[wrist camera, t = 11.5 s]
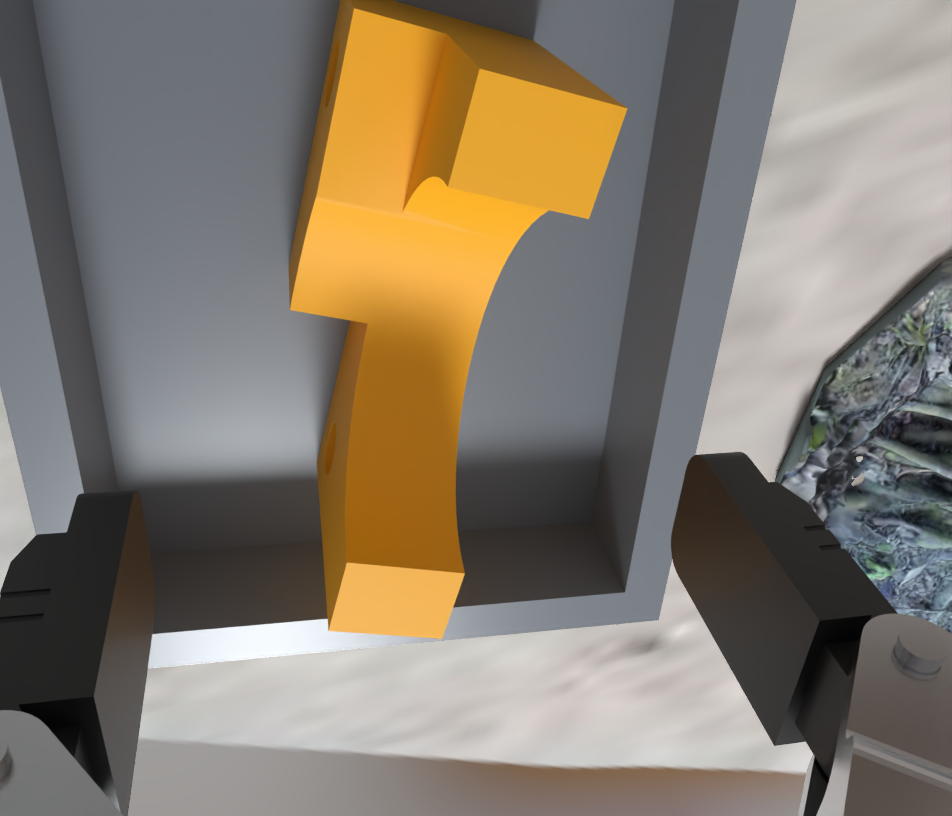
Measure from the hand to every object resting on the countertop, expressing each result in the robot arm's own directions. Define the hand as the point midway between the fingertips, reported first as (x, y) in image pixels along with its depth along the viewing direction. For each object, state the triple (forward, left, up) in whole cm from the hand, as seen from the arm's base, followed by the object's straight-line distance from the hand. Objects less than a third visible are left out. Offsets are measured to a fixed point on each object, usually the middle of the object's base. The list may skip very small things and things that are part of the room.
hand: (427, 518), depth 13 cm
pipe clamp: (0, 0, -11) cm, 11 cm away
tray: (0, 0, -11) cm, 11 cm away
